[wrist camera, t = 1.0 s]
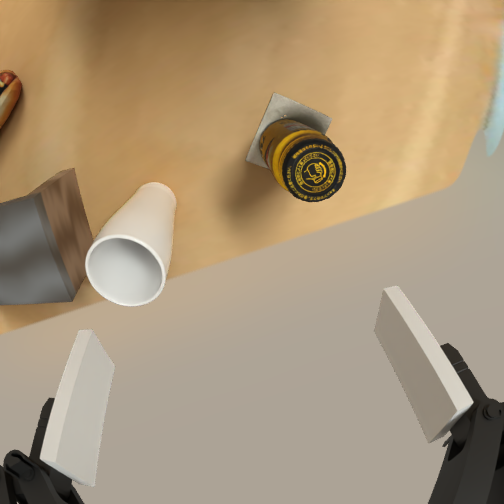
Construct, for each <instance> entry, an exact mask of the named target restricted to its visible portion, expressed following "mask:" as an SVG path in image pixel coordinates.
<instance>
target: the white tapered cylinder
mask: <svg viewBox="0 0 504 504" xmlns="http://www.w3.org/2000/svg"><path fill="white" fill-rule="evenodd" d="M176 207H177V202H176V198H175V195H174V193H173V192H172V190H171V189H170V188H169V187H167V186H166V185H164V184H162V183H158V182H150V183H146V184H144V185H142V186H141V187H140V188H138V189H137V191H136V192H135V193H134V195H133V196H132V197H131V198H130V199H129V200H128V201H127V202H126V203H125V204H124V205H123V206H122V207H121V208H120V209H119V210H118V211H117V212H116V213H115V214H114V215H113V216H112V217H111V218H110V219H109V220H108V221H107V222H106V223H105V225H104V226H103V227H102V229H101V230H100V231H99V233H98V235H97V236H96V238H95V239H94V241H93V243H92V245H91V247H90V249H89V250H88V253H87V255H86V260H85V269H86V274H87V277H88V279H89V281H90V283H91V285H92V286H93V288H94V289H95V290H96V291H97V292H98V293H99V294H100V295H101V296H103V297H104V298H105V299H107V300H109V301H111V302H113V303H115V304H118V305H122V306H131V307H134V306H141V305H145V304H147V303H150V302H151V301H153V300H154V299H156V298H157V297H158V296H159V294H160V293H161V292H162V290H163V288H164V285H165V282H166V278H167V275H168V271H169V267H170V262H171V256H172V248H173V231H174V218H175V212H176Z"/></svg>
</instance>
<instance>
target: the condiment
mask: <svg viewBox="0 0 504 504" xmlns="http://www.w3.org/2000/svg"><path fill="white" fill-rule="evenodd" d="M284 115H287V116H285V117H284ZM281 117H283V118H281ZM331 121H332V118H330V117H328V116H326V115H324V114H322V113H320V112H317V111H315V110H313V109H311V108H309V107H307V106H305V105H302V104H300V103H298V102H296V101H293V100H291V99H289V98H286V97H284V96H282V95H279V94H277V93H275V92H274V94H273V96H272V99H271V101H270V103H269V105H268V108H267V110H266V112H265V115H264V117H263V119H262V122H261V124H260V126H259V128H258V131H257V133H256V136H255V138H254V140H253V143H252V145H251V148H250V150H249V152H248V155H247V157H246V160H245V161H247V162H250V163H253V164H256V165H259V166H262V167H264V168H267V169H270V171H271V172H272V174H273V176H274V177H275V179H276V180H277V182H278V183H279V184H280V185H281V186H282V187H283V188H284V189H285V190H287V191H289V192H290V193H292V195H293V196H294V197H296V198H298V199H301V200H302V201H306V202H319V201H322V200H325V199H328V198H330V197H331V196H332V195H334V194H335V193H336V192H337V191H338V190H339V189H340V188H341V186H342V184H343V181H344V179H345V175H346V164H345V161H344V157H343V155H342V153H341V152H340V151H339V149H338V148H337V147H336V146H335V145H334V144H333V143H332V141H331V140H330V139H329V138H328V137H327V136H325V133H326V131H327V129H328V127H329V125H330V123H331Z"/></svg>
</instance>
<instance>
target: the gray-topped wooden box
mask: <svg viewBox="0 0 504 504" xmlns="http://www.w3.org/2000/svg"><path fill="white" fill-rule="evenodd" d="M92 243H93V238H92V234H91V231H90V228H89V224H88V221H87V217H86V214H85V210H84V206H83V203H82V199H81V195H80V191H79V187H78V183H77V178H76V174H75V169H74V168H72V169H68V170H64V171H61V172H59V173H58V174H56V175H55V176H53V177H52V178H50V179H49V180H47V181H46V182H45V183H43V184H42V185H40V186H39V187H38V188H36V189H35V190H33V191H32V192H31V193H29V194H28V195H27V196H24V197H20V198H17V199H13V200H10V201H6V202H3V203H0V305H18V304H39V303H58V302H72V301H73V299H74V297H75V295H76V293H77V291H78V289H79V287H80V285H81V283H82V282H83V280H84V278H85V276H86V269H85V260H86V255H87V253H88V250H89V249H90V247H91V245H92Z"/></svg>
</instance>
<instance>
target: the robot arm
mask: <svg viewBox="0 0 504 504" xmlns="http://www.w3.org/2000/svg"><path fill="white" fill-rule="evenodd" d="M374 332H375V334H376V336H377V338H378V339H379V341H380V343H381V345H382V347H383V349H384V351H385V353H386V355H387V357H388V359H389V361H390V363H391V365H392V367H393V368H394V371H395V372H396V375H397V376H398V379H399V381H400V383H401V385H402V387H403V389H404V391H405V393H406V395H407V397H408V399H409V401H410V403H411V405H412V408H413V410H414V412H415V414H416V416H417V418H418V421H419V423H420V425H421V427H422V430H423V432H424V434H425V436H426V439H427V441H428V443H431V442H433V441H435V440H437V439H439V438H441V437H443V436H444V435H445V434H446V433H447V432H448V431H449V430H450V432H451V433H452V435H451V436H450V437H449V438H448V439H447V441H445V442H444V444H443V447H445V446H446V445H447V444H448V443H449V444H448V448H447V451H446V454H445V458H444V461H443V464H442V467H441V470H440V473H439V476H438V478H437V482H436V484H435V487H434V489H433V492H432V495H431V498H430V500H429V502H428V504H504V402H502V403H499V402H498V401H496V400H494V399H489V398H488V397H487V396H486V395H485V393H484V392H483V390H482V389H481V387H480V385H479V384H478V382H477V380H476V379H475V377H474V375H473V374H472V372H471V370H470V369H468V366H467V364H466V363H465V362H464V361H463V358H462V356H461V355H460V353H459V352H458V350H456V349H455V348H454V347H452V346H451V345H450V344H449V343H447V344H444V345H441V346H439V344H438V343H437V341H436V340H435V338H434V337H433V335H432V334H431V332H430V331H429V329H428V328H427V326H426V325H425V323H424V322H423V320H422V319H421V317H420V316H419V315H418V313H417V312H416V311H415V309H414V307H413V306H412V305H411V303H410V302H409V301H408V299H407V298H406V296H405V295H404V293H403V292H402V291H401V289H400V288H399V287H398V286H393V287H389V288H384V289H383V293H382V298H381V303H380V307H379V312H378V316H377V321H376V325H375V329H374ZM114 370H115V366H114V364H113V362H112V361H111V359H110V358H109V356H108V355H107V353H106V351H105V350H104V348H103V346H102V345H101V343H100V341H99V340H98V338H97V336H96V334H95V333H94V331H93V329H86V330H79V332H78V334H77V337H76V339H75V342H74V344H73V347H72V350H71V352H70V355H69V358H68V361H67V364H66V367H65V369H64V373H63V375H62V378H61V381H60V385H59V388H58V391H57V394H56V397H55V398H49V399H48V401H47V402H46V403H45V405H44V406H43V408H42V411H41V415H40V419H39V422H38V427H37V429H36V433H35V436H34V440H33V444H32V448H31V453H30V456H29V457H27V456H26V455H25V454H23V453H22V452H20V451H19V450H12V451H10V452H9V453H8V454H7V455H6V457H5V459H4V464H3V466H4V467H2V466H1V465H0V504H17V502H18V503H19V504H84V503H83V501H82V499H81V498H80V496H79V494H78V493H77V491H76V489H75V488H74V487H73V485H71V483H72V480H73V481H75V482H77V483H79V484H82V485H87V486H92V487H95V480H96V472H97V463H98V456H99V449H100V442H101V436H102V430H103V424H104V419H105V414H106V408H107V403H108V398H109V393H110V388H111V384H112V378H113V375H114Z"/></svg>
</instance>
